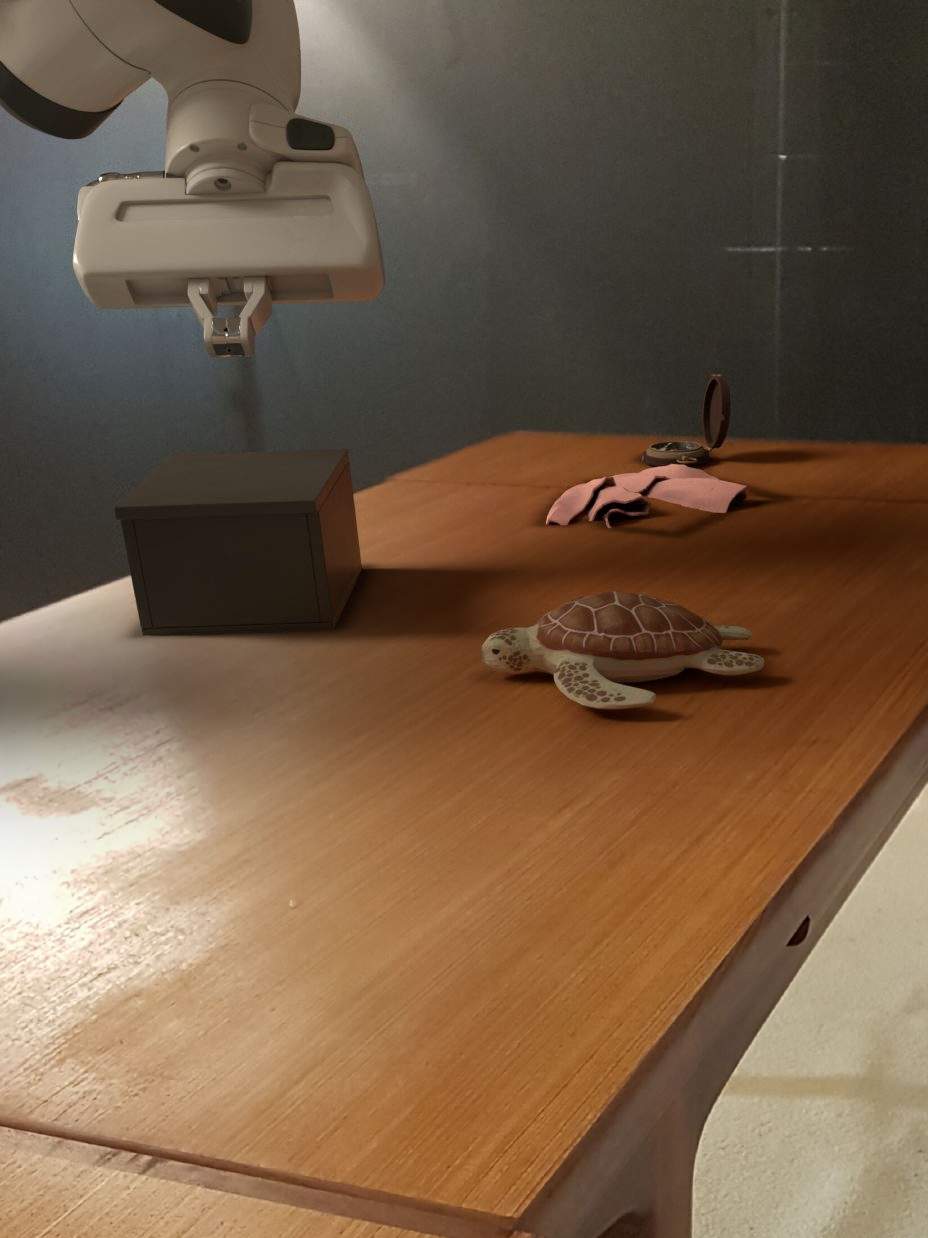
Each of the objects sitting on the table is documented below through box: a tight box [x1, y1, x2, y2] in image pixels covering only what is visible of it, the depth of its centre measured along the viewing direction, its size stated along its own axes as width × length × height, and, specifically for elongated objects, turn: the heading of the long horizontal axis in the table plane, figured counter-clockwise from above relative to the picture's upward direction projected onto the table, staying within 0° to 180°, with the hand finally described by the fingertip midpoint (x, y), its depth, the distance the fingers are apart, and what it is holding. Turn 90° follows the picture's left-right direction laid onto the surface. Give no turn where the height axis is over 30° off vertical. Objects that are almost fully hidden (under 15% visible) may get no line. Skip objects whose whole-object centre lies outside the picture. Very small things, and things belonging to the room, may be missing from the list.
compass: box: [641, 373, 731, 467], centre depth 148 cm, size 8×8×7 cm
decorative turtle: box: [479, 590, 765, 710], centre depth 96 cm, size 18×17×5 cm
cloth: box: [545, 464, 748, 529], centre depth 135 cm, size 20×22×2 cm
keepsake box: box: [119, 461, 363, 636], centre depth 111 cm, size 16×13×8 cm
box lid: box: [113, 448, 350, 521], centre depth 109 cm, size 16×13×1 cm
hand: (229, 350), depth 107 cm, fingers closed
